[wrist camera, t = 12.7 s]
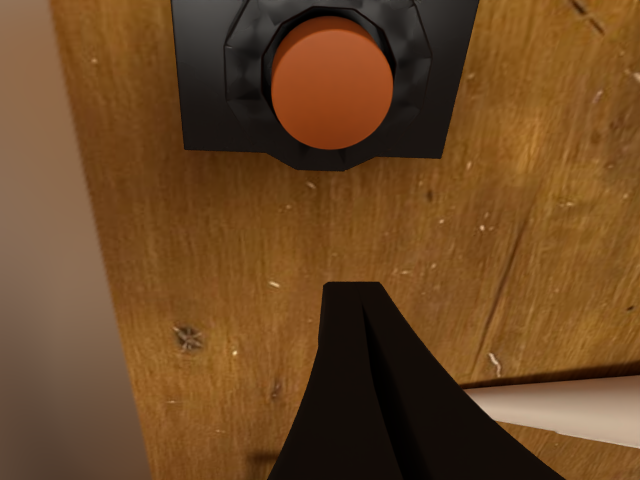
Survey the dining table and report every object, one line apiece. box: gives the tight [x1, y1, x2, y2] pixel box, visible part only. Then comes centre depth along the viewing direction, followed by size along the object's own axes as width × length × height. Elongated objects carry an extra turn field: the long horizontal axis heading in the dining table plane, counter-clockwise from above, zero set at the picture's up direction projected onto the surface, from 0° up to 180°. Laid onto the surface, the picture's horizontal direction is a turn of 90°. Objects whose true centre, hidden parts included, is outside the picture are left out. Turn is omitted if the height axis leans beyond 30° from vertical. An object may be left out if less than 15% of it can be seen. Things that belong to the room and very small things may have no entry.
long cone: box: [464, 375, 640, 448], centre depth 30 cm, size 6×6×19 cm
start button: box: [271, 16, 393, 149], centre depth 15 cm, size 4×4×2 cm
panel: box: [171, 0, 479, 171], centre depth 17 cm, size 10×7×4 cm
